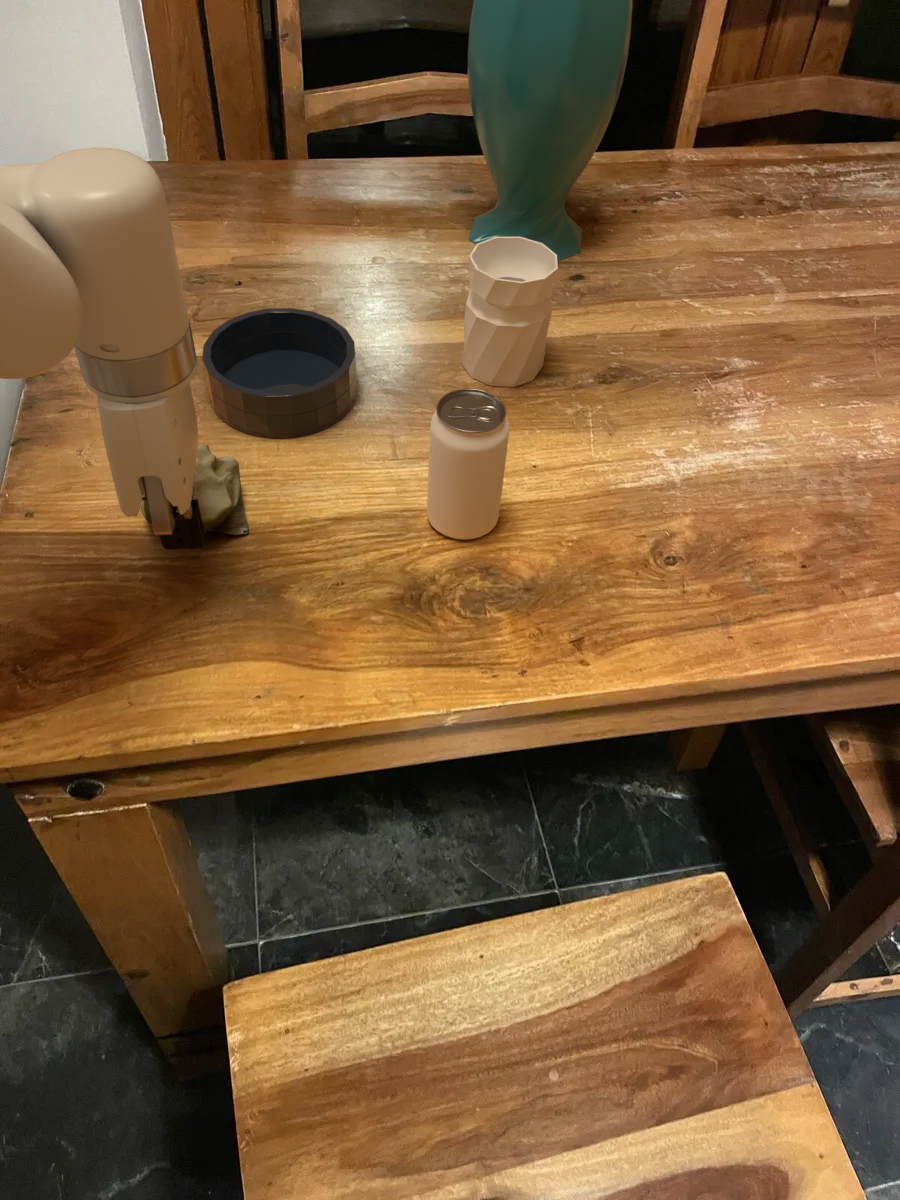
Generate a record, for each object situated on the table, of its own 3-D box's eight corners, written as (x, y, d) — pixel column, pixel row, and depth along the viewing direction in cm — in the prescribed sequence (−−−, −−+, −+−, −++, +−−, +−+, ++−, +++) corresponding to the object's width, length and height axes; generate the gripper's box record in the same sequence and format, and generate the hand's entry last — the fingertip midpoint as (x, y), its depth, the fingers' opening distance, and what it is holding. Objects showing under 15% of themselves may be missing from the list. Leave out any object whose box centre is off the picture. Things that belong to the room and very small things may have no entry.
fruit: (171, 575, 79) (131, 508, 73) (147, 512, 85) (109, 444, 79) (271, 531, 81) (240, 461, 75) (241, 471, 87) (210, 402, 81)
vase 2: (445, 367, 98) (451, 262, 89) (489, 330, 103) (499, 226, 94) (515, 398, 96) (529, 293, 86) (558, 359, 100) (575, 255, 91)
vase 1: (448, 260, 112) (463, -29, 90) (468, 194, 124) (486, -78, 101) (590, 278, 111) (642, -9, 89) (598, 210, 123) (646, -61, 100)
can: (498, 544, 82) (512, 437, 73) (425, 541, 82) (429, 433, 73) (497, 493, 86) (510, 386, 77) (427, 490, 86) (432, 383, 77)
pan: (205, 441, 89) (197, 398, 85) (214, 351, 98) (207, 309, 95) (359, 436, 90) (358, 394, 87) (353, 348, 100) (351, 306, 96)
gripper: (95, 290, 67) (148, 481, 81) (58, 424, 57) (125, 615, 71) (202, 289, 67) (236, 478, 81) (184, 421, 58) (226, 610, 72)
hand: (184, 541), depth 76 cm, fingers closed
